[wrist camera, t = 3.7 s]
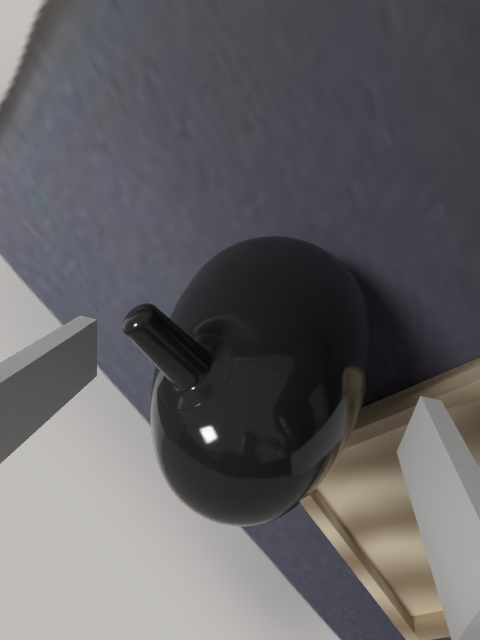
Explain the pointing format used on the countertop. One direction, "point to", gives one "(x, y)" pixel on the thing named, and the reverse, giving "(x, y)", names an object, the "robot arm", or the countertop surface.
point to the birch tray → (392, 501)
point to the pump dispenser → (256, 377)
